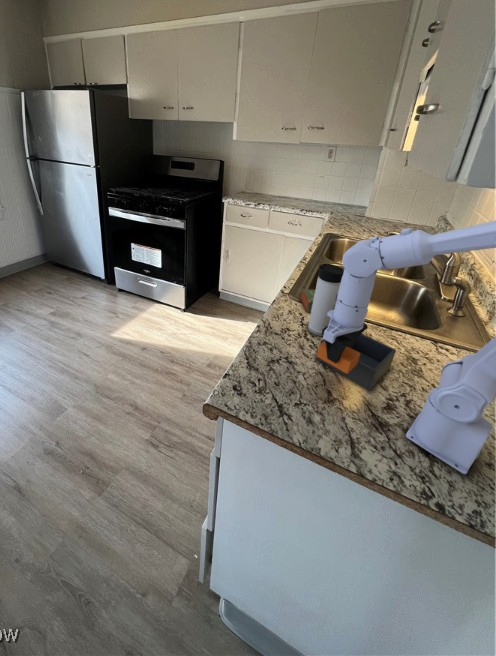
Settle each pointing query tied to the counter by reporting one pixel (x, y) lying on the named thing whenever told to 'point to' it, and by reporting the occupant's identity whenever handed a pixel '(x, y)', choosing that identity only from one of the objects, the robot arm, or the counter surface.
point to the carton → (308, 298)
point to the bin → (368, 361)
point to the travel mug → (324, 297)
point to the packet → (341, 358)
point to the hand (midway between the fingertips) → (338, 355)
